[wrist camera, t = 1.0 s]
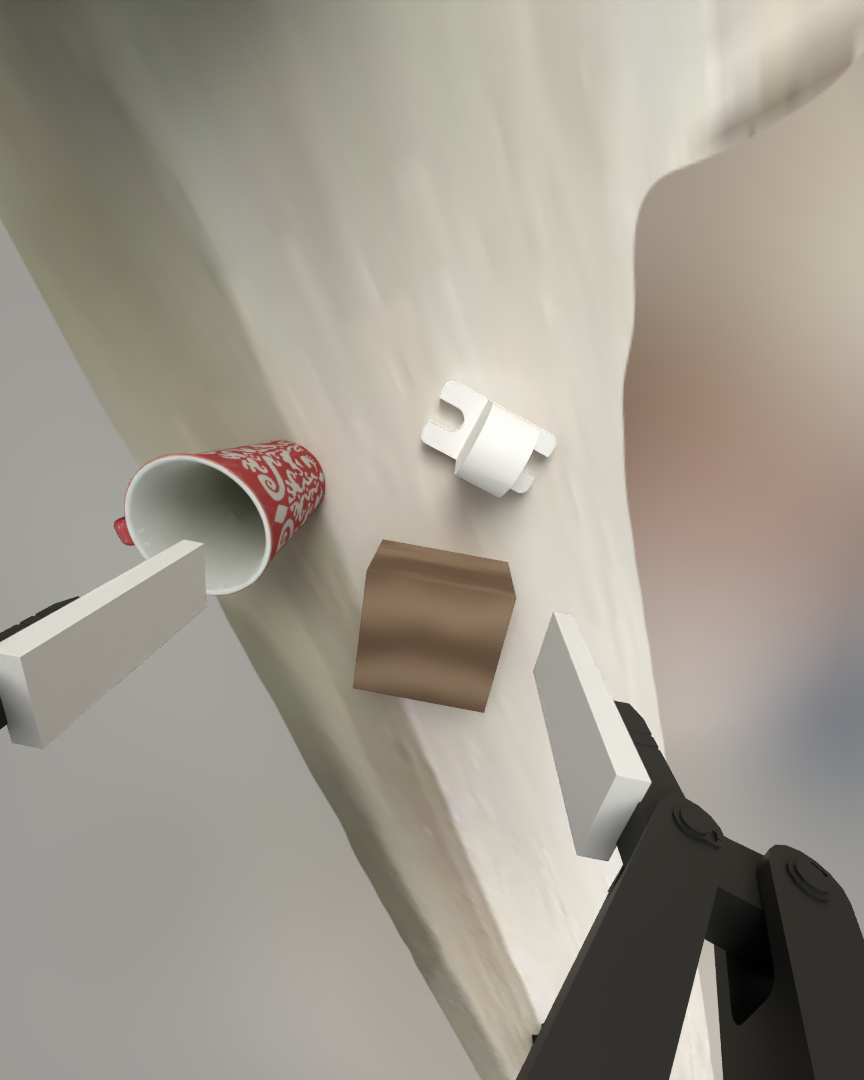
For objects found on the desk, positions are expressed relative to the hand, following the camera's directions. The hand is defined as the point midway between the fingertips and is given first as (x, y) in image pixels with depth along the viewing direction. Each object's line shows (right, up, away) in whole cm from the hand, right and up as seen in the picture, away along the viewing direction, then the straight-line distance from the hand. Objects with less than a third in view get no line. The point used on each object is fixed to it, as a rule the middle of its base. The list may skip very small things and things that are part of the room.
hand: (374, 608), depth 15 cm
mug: (-13, +8, +22) cm, 27 cm away
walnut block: (+2, -4, +25) cm, 26 cm away
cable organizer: (+7, +11, +19) cm, 23 cm away
